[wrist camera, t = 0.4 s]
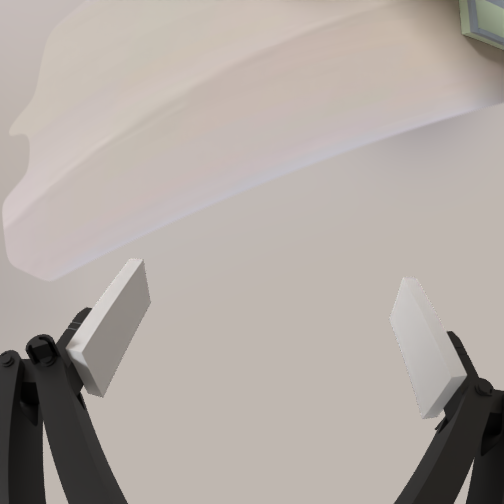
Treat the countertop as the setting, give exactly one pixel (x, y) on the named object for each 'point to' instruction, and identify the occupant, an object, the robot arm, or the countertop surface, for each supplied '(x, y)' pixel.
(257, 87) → the countertop surface
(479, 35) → the blue gray tray
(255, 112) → the countertop surface
